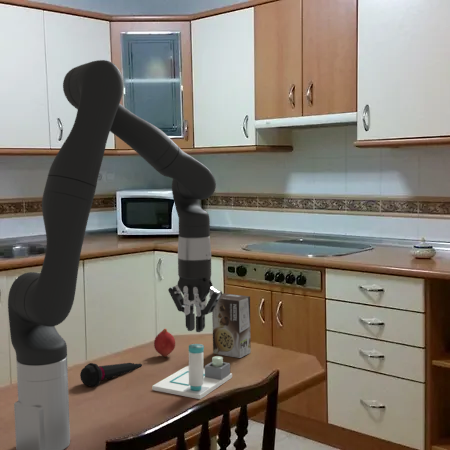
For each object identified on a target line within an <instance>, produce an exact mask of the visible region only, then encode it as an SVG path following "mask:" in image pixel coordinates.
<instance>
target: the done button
mask: <svg viewBox="0 0 450 450" xmlns="http://www.w3.org/2000/svg"><path fill="white" fill-rule="evenodd" d="M223 359H224V357H223V356H221V355H216V356H212V358H211V362H212V366H214V367H222V366H223V362H224V360H223Z"/></svg>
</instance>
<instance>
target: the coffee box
mask: <svg viewBox="0 0 450 450" xmlns="http://www.w3.org/2000/svg"><path fill="white" fill-rule="evenodd" d="M211 314H212V315H211V316H212V354H213V353H214V354H213V355H218V356H225V357H231V358H238V359H241V358H243V357H245V356H247V355H249V354H251V352H252V351H251V350H252V349H251V347H252V346H251V339H252V338H251V295H250V296H249V295H240V294H234V293H233V294H232V293H224V292H222V295H221V297H220V299H219V301H218V303H217V304H216V306H215V308H214V310H213V312H211Z"/></svg>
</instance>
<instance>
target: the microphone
mask: <svg viewBox="0 0 450 450" xmlns="http://www.w3.org/2000/svg"><path fill="white" fill-rule="evenodd" d="M142 366H143V364H142V363H134V362H126V363H125V362H124V363H117V364H116V363H115V364H106V365H98V364H97V363H93V362H89V363H87V364H86V365H85V366H84V367H83V368H82V369H81V371H80V374H79V375H80V381H81V382H82V384H83V385H85V386H89V387H93V388H95V387H96V386H98V385H100V384H101V381H105V380H111V379H112V380H113V379H114V378H115V377H117V376H122V375H124V374H127V373H130V372H131V373H132V372H133V371H135V370H136V369H138V368H141V367H142Z"/></svg>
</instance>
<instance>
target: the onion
mask: <svg viewBox="0 0 450 450" xmlns="http://www.w3.org/2000/svg"><path fill="white" fill-rule="evenodd" d="M175 339H176V338H175V337H174V336H173V334H172V333H170V332H169V331H168V329H167V328H165V327H164V328H163V330H162V331H160V332H159V333H158V334H157V335H156V336H155V338H154V340H153V341H154V342H153V347H154V350H155V351H156V352H157V353H158V354H160V355H161V356H162V357H164V358H166V357H168V356H169V355H170V354H171V353H172V352H173V351H174V350H175V348H176V340H175Z"/></svg>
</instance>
